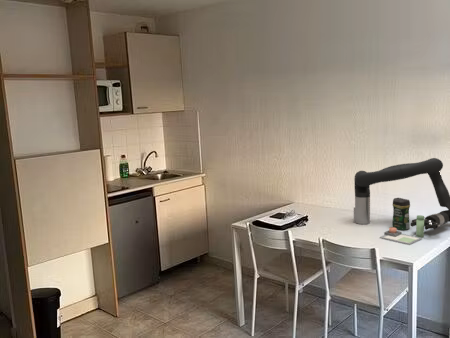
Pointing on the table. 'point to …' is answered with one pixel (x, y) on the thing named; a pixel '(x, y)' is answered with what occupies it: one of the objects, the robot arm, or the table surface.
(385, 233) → the board
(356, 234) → the table surface
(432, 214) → the robot arm
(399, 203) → the coffee jar
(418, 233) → the marker
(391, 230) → the button
